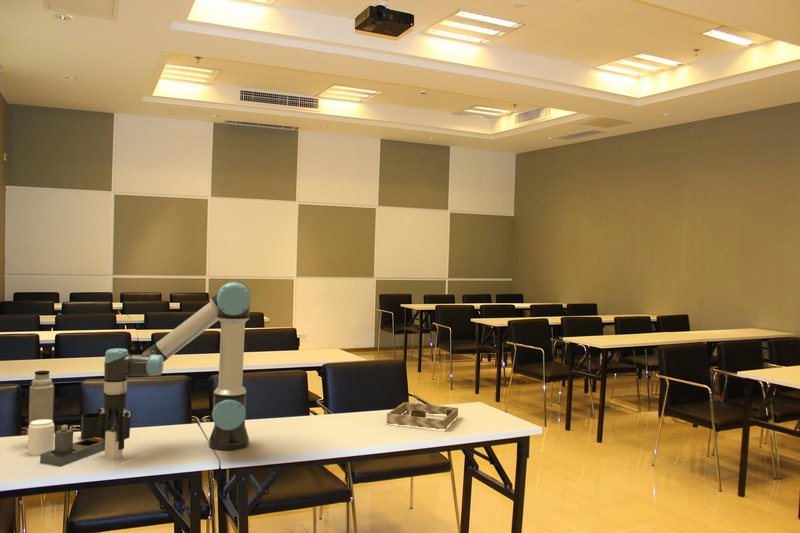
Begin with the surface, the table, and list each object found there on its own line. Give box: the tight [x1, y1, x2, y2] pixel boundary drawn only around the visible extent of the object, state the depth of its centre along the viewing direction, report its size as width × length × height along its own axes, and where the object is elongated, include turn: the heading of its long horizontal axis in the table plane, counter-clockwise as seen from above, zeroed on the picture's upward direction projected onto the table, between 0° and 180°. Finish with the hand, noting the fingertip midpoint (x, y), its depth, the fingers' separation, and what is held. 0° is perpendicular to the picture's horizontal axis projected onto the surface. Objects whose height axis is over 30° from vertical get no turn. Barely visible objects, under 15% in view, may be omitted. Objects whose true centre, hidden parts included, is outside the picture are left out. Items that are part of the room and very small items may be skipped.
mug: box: [80, 411, 115, 440], centre depth 254 cm, size 9×12×9 cm
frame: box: [386, 401, 459, 429], centre depth 296 cm, size 27×26×5 cm
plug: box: [104, 423, 118, 460], centre depth 228 cm, size 4×4×12 cm
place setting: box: [410, 410, 452, 418], centre depth 295 cm, size 18×20×6 cm
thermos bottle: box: [28, 370, 55, 426], centre depth 242 cm, size 8×8×28 cm
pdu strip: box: [39, 437, 105, 467], centre depth 228 cm, size 22×9×5 cm, turn 162°
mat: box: [114, 455, 139, 467], centre depth 228 cm, size 12×12×1 cm
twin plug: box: [54, 424, 74, 455], centre depth 223 cm, size 4×4×12 cm
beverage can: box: [27, 419, 55, 457], centre depth 231 cm, size 8×8×12 cm
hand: (113, 457), depth 228 cm, fingers closed on plug, 4 cm apart
